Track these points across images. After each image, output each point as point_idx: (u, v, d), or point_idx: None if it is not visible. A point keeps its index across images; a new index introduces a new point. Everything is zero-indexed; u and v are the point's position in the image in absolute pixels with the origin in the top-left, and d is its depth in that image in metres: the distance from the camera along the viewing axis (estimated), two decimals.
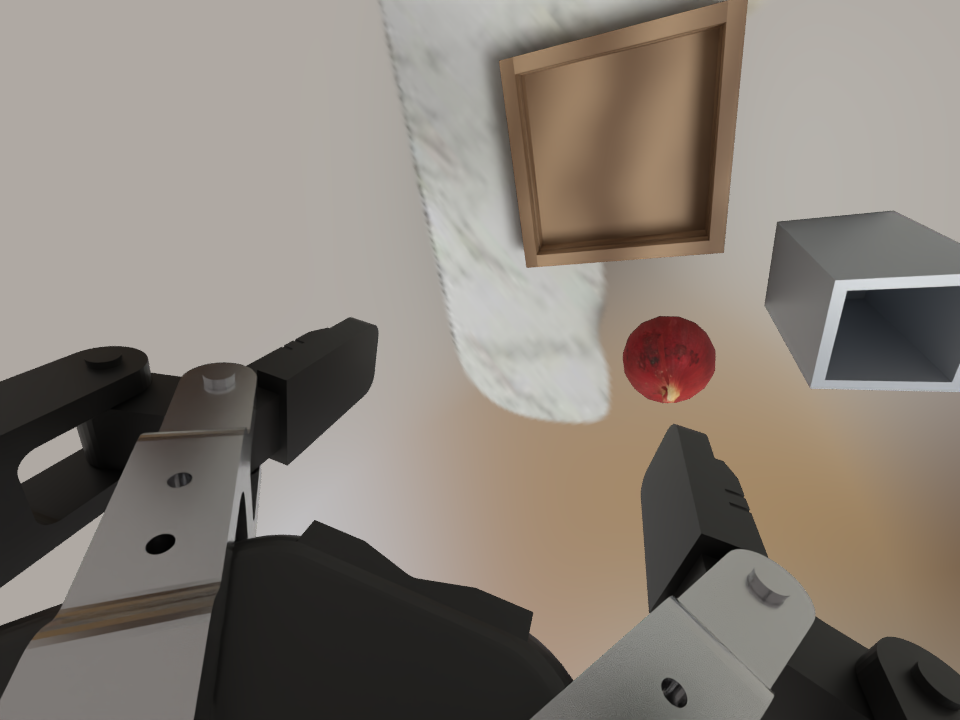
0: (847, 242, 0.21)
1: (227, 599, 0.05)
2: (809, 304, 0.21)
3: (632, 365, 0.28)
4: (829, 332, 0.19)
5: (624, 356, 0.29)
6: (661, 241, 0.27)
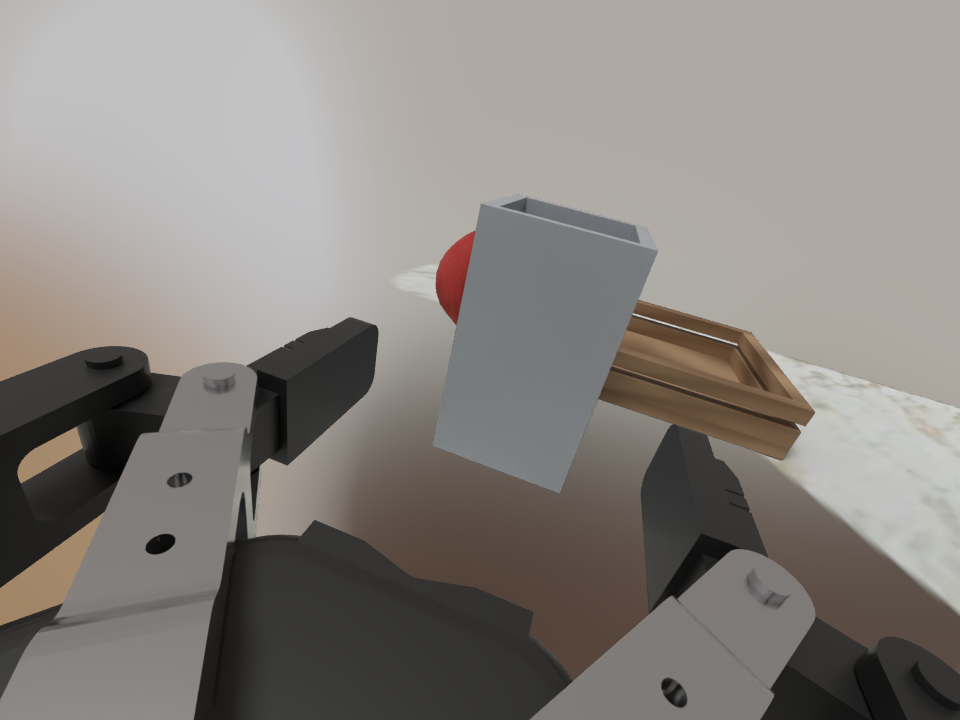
0: None
1: (227, 599, 0.05)
2: None
3: None
4: (586, 212, 0.18)
5: None
6: None
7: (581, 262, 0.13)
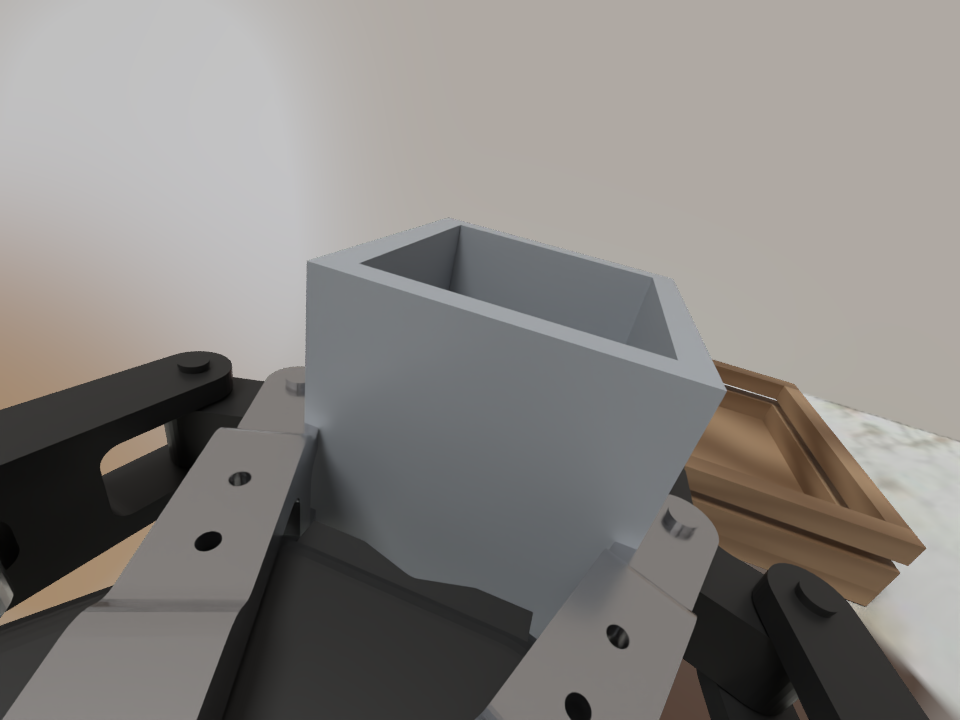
0: None
1: (260, 608, 0.05)
2: None
3: None
4: (566, 251, 0.10)
5: None
6: None
7: (539, 399, 0.06)
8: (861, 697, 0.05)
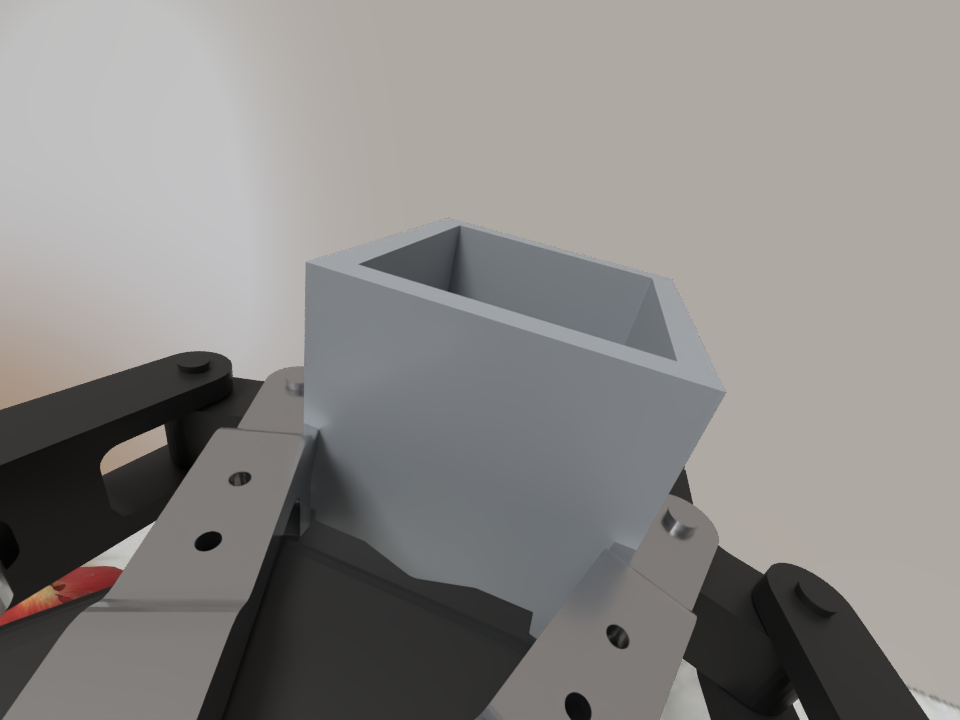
0: None
1: (260, 608, 0.05)
2: None
3: None
4: (565, 252, 0.10)
5: None
6: None
7: (538, 401, 0.06)
8: (861, 697, 0.05)
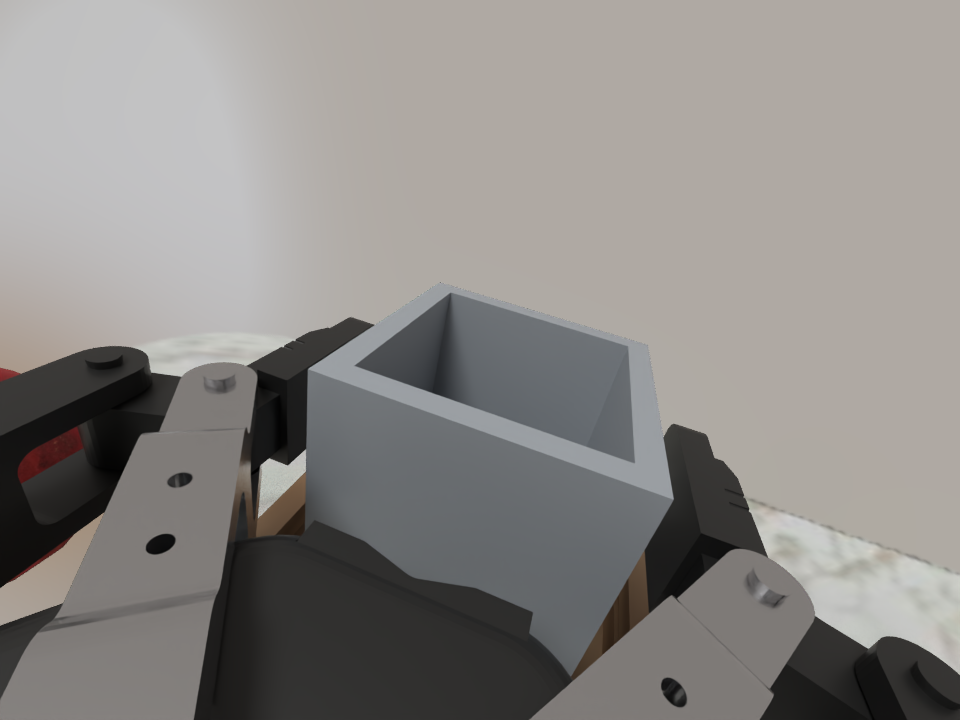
0: None
1: (227, 599, 0.05)
2: None
3: None
4: (548, 318, 0.11)
5: None
6: None
7: (513, 494, 0.06)
8: None
